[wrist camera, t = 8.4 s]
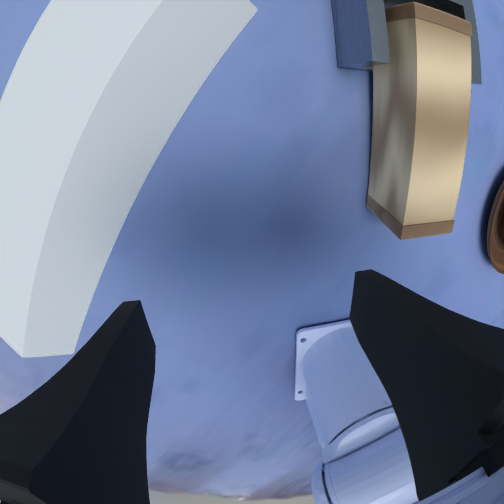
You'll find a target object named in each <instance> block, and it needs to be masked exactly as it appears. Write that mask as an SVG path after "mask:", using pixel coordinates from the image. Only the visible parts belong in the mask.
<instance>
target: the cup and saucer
mask: <svg viewBox="0 0 504 504" xmlns="http://www.w3.org/2000/svg"><path fill="white" fill-rule="evenodd" d="M487 250H488V256H489V260H490V262H491V264H492V265H493V267H494V268H495V269H496V270H497V271H498V272H499V273H502V274H504V180H503V182H502V183H501V185H500V187H499V189H498V191H497V194H496V196H495V199H494V202H493V205H492V208H491V212H490V216H489V221H488V228H487Z"/></svg>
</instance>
